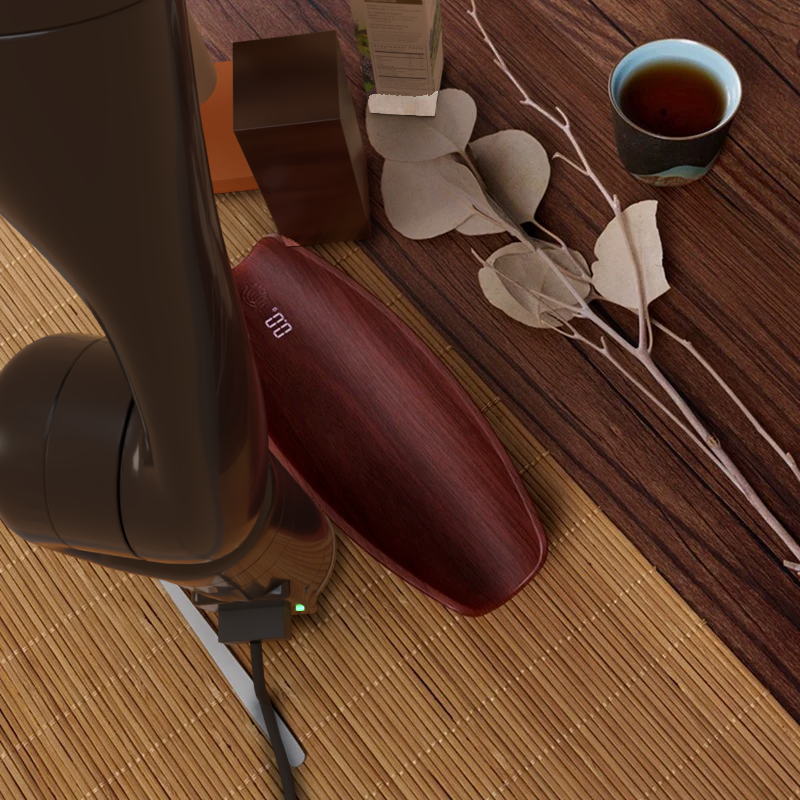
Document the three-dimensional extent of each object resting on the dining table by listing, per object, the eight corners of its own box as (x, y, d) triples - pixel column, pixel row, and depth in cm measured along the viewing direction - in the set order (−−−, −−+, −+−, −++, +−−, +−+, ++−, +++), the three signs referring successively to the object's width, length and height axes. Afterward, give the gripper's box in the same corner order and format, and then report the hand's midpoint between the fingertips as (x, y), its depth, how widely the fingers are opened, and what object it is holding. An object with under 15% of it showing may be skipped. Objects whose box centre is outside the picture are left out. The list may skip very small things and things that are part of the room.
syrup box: (379, 59, 79) (355, -77, 66) (447, 62, 79) (437, -74, 65) (369, 115, 78) (342, -12, 64) (438, 119, 77) (426, -8, 63)
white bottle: (217, 108, 71) (164, -5, 60) (146, 116, 71) (80, 6, 60) (217, 48, 73) (165, -73, 61) (148, 57, 73) (84, -62, 62)
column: (371, 239, 74) (340, 118, 59) (285, 247, 75) (232, 131, 59) (367, 163, 76) (335, 29, 61) (283, 172, 77) (232, 42, 62)
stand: (275, 187, 76) (270, 174, 75) (139, 202, 77) (130, 189, 75) (273, 71, 80) (267, 55, 78) (143, 86, 81) (134, 71, 79)
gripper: (201, -280, 52) (89, -105, 65) (153, -77, 47) (43, 68, 60) (311, -194, 56) (186, -46, 69) (277, -1, 52) (149, 119, 65)
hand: (120, 7), depth 65 cm, fingers closed on white bottle, 5 cm apart
